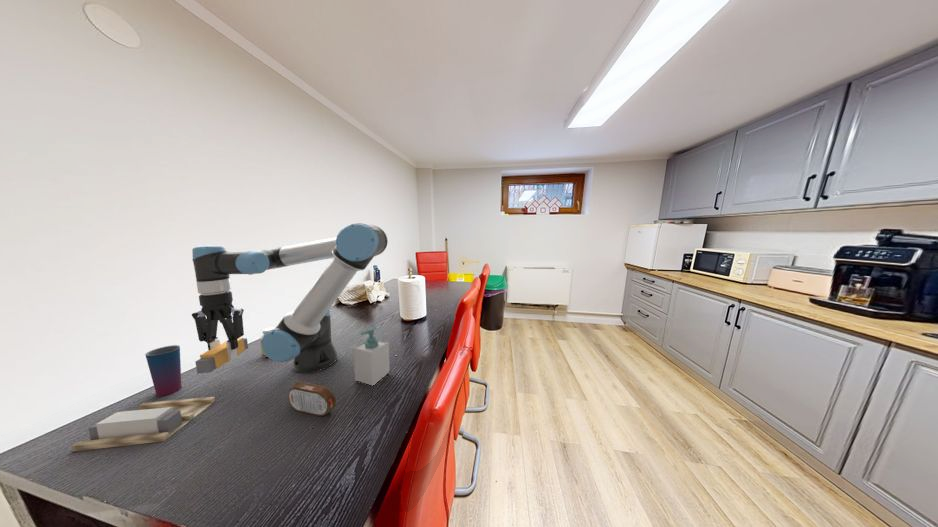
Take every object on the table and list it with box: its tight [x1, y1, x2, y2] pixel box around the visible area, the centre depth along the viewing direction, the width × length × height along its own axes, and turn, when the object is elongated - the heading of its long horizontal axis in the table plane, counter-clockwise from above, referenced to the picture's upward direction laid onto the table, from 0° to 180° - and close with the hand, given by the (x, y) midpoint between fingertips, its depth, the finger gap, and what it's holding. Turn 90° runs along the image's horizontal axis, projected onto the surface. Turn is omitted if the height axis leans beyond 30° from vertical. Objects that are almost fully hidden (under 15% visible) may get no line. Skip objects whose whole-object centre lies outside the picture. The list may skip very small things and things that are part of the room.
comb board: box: [71, 396, 216, 452], centre depth 65 cm, size 18×15×2 cm
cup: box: [144, 344, 182, 397], centre depth 77 cm, size 7×7×15 cm
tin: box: [287, 381, 337, 417], centre depth 70 cm, size 15×3×8 cm, turn 77°
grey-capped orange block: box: [195, 337, 249, 375], centre depth 81 cm, size 16×4×5 cm, turn 10°
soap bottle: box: [353, 326, 391, 387], centre depth 87 cm, size 9×9×19 cm
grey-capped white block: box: [88, 407, 182, 440], centre depth 61 cm, size 16×4×5 cm, turn 100°
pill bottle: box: [260, 326, 277, 358], centre depth 103 cm, size 6×6×12 cm
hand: (225, 358), depth 81 cm, fingers closed on grey-capped orange block, 4 cm apart
